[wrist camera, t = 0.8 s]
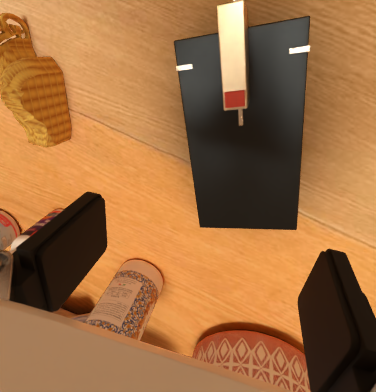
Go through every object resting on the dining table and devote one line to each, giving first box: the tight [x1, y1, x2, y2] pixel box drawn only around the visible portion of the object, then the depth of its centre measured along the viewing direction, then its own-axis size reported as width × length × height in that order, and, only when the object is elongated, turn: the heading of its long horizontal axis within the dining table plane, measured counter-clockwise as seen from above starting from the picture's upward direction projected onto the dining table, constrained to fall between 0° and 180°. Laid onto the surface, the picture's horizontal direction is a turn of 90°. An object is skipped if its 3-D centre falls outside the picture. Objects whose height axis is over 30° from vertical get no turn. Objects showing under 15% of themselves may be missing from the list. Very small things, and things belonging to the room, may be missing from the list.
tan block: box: [216, 0, 250, 111], centre depth 18 cm, size 6×2×5 cm, turn 9°
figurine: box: [0, 13, 71, 147], centre depth 25 cm, size 4×12×7 cm, turn 177°
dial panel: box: [174, 0, 310, 230], centre depth 24 cm, size 21×10×3 cm, turn 9°
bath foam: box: [84, 260, 163, 341], centre depth 31 cm, size 7×7×20 cm
